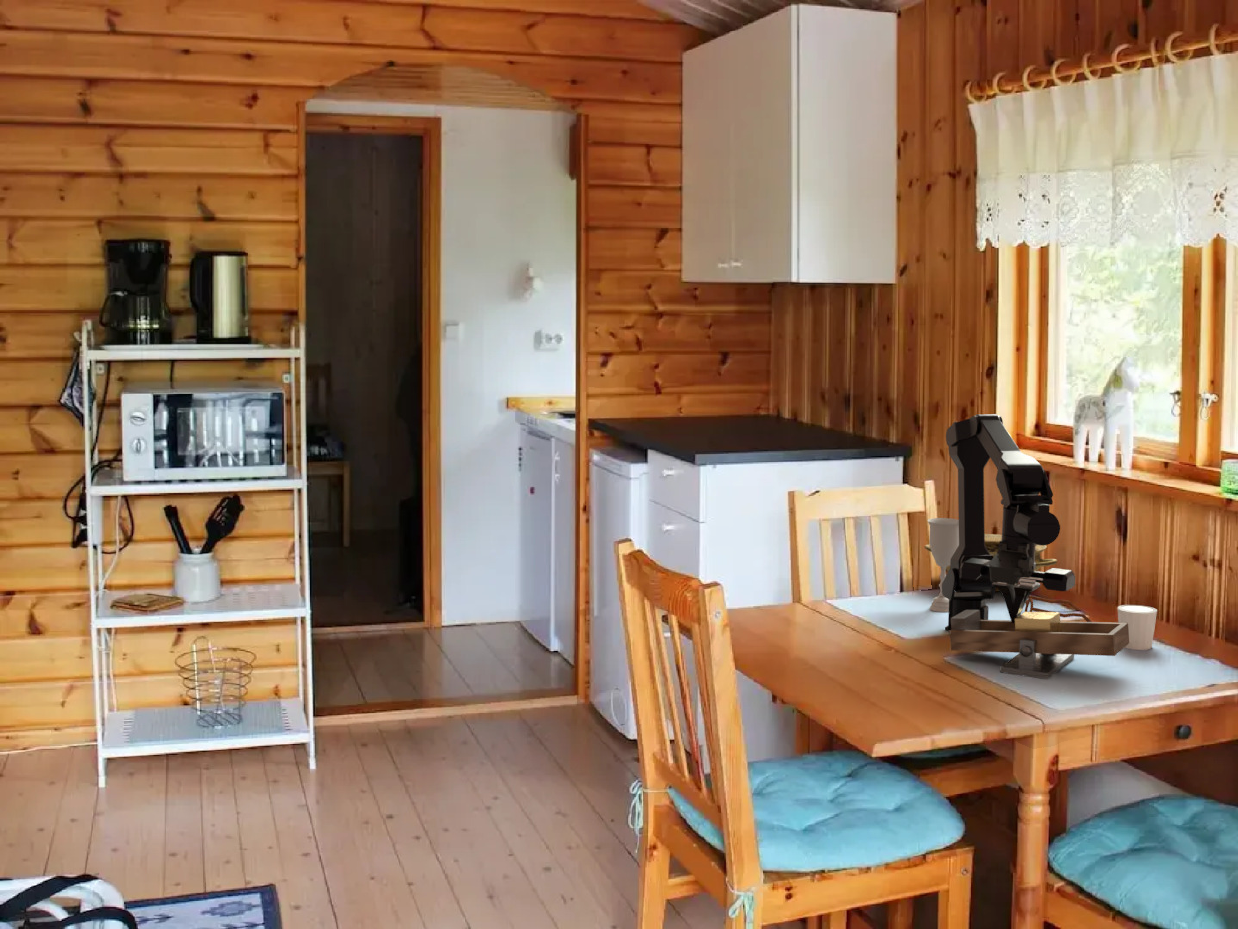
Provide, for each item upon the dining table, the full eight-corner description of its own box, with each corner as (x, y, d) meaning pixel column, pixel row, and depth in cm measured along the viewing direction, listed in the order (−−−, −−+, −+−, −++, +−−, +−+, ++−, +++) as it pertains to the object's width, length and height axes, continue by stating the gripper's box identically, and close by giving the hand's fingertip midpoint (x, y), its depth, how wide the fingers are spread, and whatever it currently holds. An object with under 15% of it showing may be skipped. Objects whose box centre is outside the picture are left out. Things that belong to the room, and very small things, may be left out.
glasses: (1014, 611, 296) (1015, 586, 295) (1080, 612, 295) (1081, 588, 294) (1027, 626, 283) (1028, 601, 282) (1096, 628, 282) (1097, 602, 281)
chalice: (962, 613, 292) (965, 524, 290) (928, 613, 292) (931, 524, 290) (955, 605, 299) (957, 518, 297) (921, 604, 299) (924, 517, 297)
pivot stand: (1000, 672, 249) (1001, 638, 248) (1028, 652, 262) (1030, 620, 261) (1047, 679, 245) (1048, 645, 244) (1073, 658, 258) (1075, 626, 257)
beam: (950, 650, 256) (948, 619, 256) (970, 638, 265) (967, 608, 264) (1114, 655, 241) (1112, 622, 241) (1129, 643, 250) (1127, 611, 249)
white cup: (1150, 652, 262) (1152, 614, 261) (1111, 647, 266) (1113, 609, 265) (1159, 644, 268) (1161, 607, 267) (1120, 639, 271) (1122, 602, 271)
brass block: (1016, 641, 252) (1014, 618, 252) (1026, 634, 257) (1025, 611, 257) (1051, 642, 249) (1049, 619, 248) (1061, 635, 254) (1059, 612, 253)
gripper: (950, 535, 251) (946, 624, 253) (1059, 548, 241) (1053, 640, 243) (972, 526, 260) (968, 612, 262) (1078, 538, 250) (1073, 627, 252)
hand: (1014, 623), depth 255 cm, fingers closed
